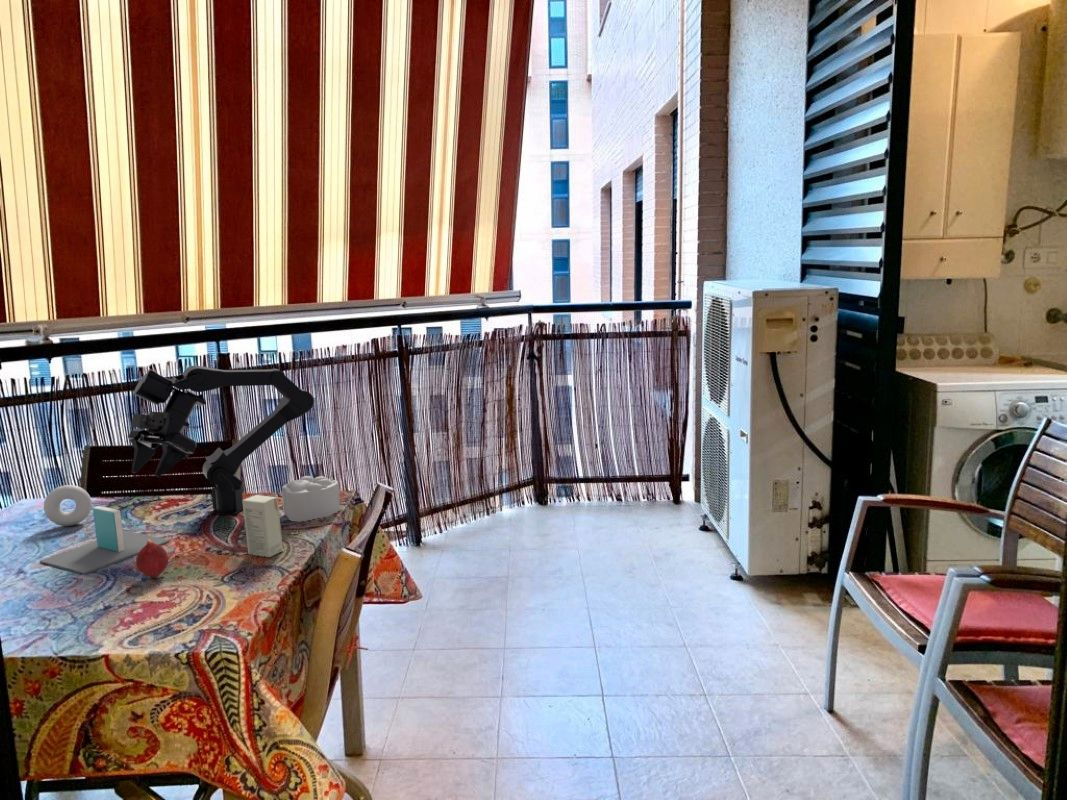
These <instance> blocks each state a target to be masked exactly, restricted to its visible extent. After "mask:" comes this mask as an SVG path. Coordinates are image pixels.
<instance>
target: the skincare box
mask: <svg viewBox="0 0 1067 800" xmlns="http://www.w3.org/2000/svg"><path fill="white" fill-rule="evenodd" d="M242 502H243V510H242V511H243V517H244V518H243V519H244V527H245V534H246V543H247V544H246V545H247V554H248V555H252V554H253V555H252V556H258V555H259V557H264V556H265V558H271V557H273V556H275V555H278V554H279V553H280V552H283V551H284V548H283V546H284V545H283V537H282V528H281V519H280V507H279V501H278V497H276V496H270V495H269V496H268V495H262V494H255V495H252V496H250V497H247V498H245V499H244V498H243V500H242Z"/></svg>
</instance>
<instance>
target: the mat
mask: <svg viewBox="0 0 1067 800" xmlns="http://www.w3.org/2000/svg"><path fill="white" fill-rule="evenodd" d="M122 531H123V540H124V548H125V550H123V551H120V552H118V551H114V550H109V549H105V548H101V547H98V546H97V540H94V541H92V542H89V543H86V544H84V545H81V546H78V547H74V548H72V549H69V550H66V551H64V552H61V553H58V554H55V555H52V556H49V557H46V558H43V559H41V560H39V563H40V562H41V563H40V564H44V563H45V564H44V565H47V564H48V565H47V566H51V565H52V567H55V568H58V569H64V570H66V571H70V572H74V573H79V574H82V575H87V574H91V573H93V572H96V571H98V570H101V569H103V568H106V567H108V566H111V565H114V564H116V563H119V562H121V561H123V560H127V559H129V558H132V557H134V556H137V555H138V553H139V551H140V550H141V549H142V548H143V547H144V546H145V545H146V544H147V541H148V539H150V540H152V542H154V543H155V544H158V545H160V546H163V545H165V544H167V543H170V539H165V538H162V537H156V536H152V535H149V534H142V533H139V532H134V531H129V530H122Z"/></svg>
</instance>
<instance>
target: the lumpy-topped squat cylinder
mask: <svg viewBox="0 0 1067 800" xmlns="http://www.w3.org/2000/svg"><path fill="white" fill-rule="evenodd" d="M281 492H282V502H283V514H285V515H286V516H287V517H286V516H285V515H284V516H285V517H286V518H289V519H288V521H289V520H291V521H304V522H306V521H305V520H311V519H316V520H318V519H317V518H321V519H323V518H322V517H326V516H329V517H331V516H333V515H332V514H334V513H336V514H338V513H339V512H340V511H341V507H340V506H341V505H340V504H341V503H340V490H339V481H338V480H334V479H333V478H331V479H330V478H328V477H326V476H323V475H322V476H316V477H314V478H313V476H310V475H305V476H302V477H301V478H299V479H295V480H292V481H289V482H288V483H286V484H284V485H283V486H282V487H281ZM339 510H340V511H339ZM338 511H339V512H338ZM330 515H331V516H330ZM334 515H335V514H334ZM326 518H327V517H326ZM291 521H290V522H291ZM311 521H312V520H311Z"/></svg>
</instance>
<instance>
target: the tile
mask: <svg viewBox="0 0 1067 800" xmlns="http://www.w3.org/2000/svg"><path fill="white" fill-rule="evenodd" d="M92 512H93V513H92V514H93V520H94V521H93V522H94V527H95V528H94V529H95V535H96V541H97V546H98V547H101V548H105V549H109V550H114V551H118V552H120V551H123V550H125V548H124V540H123V531H124V530H123V525H122V524H123V523H122V515H121V510H120V509H115V508H110V507H107V506H102V505H98V506H94V507H93V508H92Z"/></svg>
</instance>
